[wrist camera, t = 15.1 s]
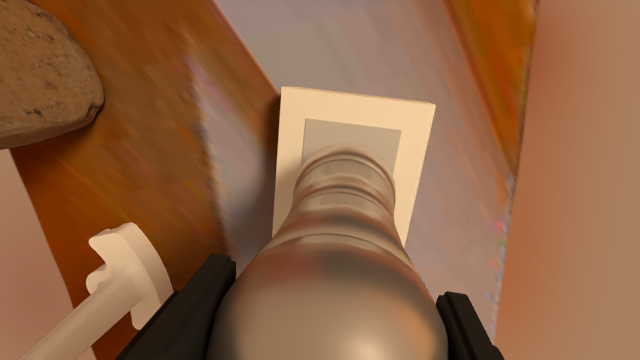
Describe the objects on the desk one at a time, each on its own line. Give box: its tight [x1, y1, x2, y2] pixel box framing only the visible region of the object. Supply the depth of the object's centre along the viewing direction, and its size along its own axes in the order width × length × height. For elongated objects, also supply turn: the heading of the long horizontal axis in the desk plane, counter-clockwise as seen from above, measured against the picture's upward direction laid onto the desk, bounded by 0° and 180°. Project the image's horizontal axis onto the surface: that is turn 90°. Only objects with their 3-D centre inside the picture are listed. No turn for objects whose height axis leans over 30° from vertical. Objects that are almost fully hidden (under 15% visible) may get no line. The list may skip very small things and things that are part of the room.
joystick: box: [18, 223, 174, 360], centre depth 24 cm, size 11×8×20 cm
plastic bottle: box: [206, 142, 449, 360], centre depth 13 cm, size 6×7×20 cm
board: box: [272, 86, 436, 248], centre depth 27 cm, size 22×11×3 cm, turn 174°
